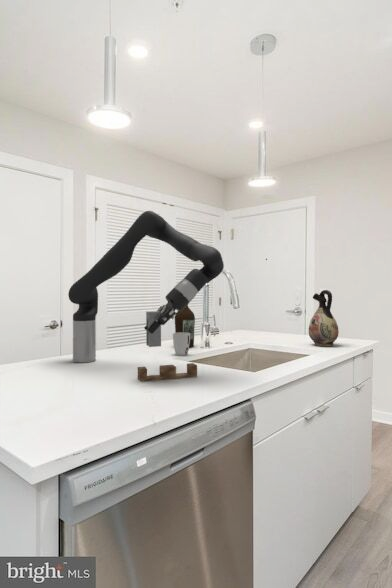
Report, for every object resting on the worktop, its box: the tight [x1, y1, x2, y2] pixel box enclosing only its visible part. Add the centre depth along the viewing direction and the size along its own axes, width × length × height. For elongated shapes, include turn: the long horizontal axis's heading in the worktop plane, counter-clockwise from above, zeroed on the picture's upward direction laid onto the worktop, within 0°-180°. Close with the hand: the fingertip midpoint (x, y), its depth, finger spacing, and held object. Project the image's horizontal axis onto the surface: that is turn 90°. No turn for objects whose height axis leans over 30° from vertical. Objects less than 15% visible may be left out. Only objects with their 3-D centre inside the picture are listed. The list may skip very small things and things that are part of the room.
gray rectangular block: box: [145, 310, 162, 348], centre depth 129 cm, size 4×4×12 cm
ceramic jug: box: [308, 289, 339, 347], centre depth 205 cm, size 17×15×30 cm
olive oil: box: [174, 304, 196, 349], centre depth 200 cm, size 11×11×25 cm
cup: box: [172, 332, 190, 357], centre depth 177 cm, size 8×8×10 cm
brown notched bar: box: [137, 362, 198, 382], centre depth 131 cm, size 20×4×4 cm, turn 110°
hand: (148, 330), depth 128 cm, fingers closed on gray rectangular block, 4 cm apart
